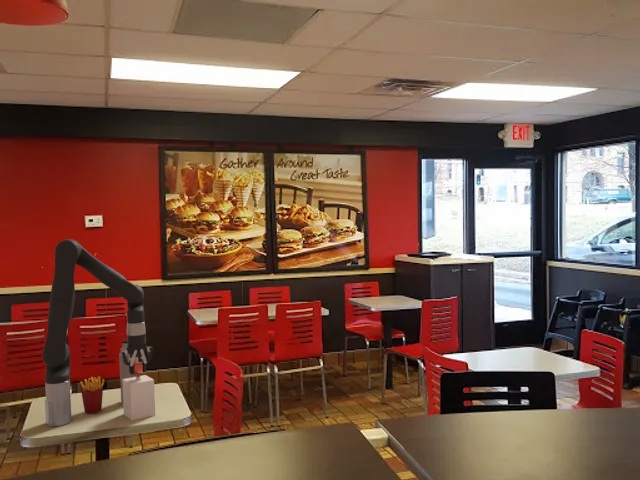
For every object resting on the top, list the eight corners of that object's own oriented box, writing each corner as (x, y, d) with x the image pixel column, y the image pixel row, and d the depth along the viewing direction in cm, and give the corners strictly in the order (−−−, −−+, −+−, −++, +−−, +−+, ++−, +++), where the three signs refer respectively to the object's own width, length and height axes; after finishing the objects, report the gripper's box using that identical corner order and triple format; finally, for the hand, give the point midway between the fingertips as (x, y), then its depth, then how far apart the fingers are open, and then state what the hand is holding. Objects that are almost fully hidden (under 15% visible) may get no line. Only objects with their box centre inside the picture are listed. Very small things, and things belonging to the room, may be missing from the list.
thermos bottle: (143, 400, 272) (141, 339, 270) (128, 405, 265) (125, 342, 264) (132, 397, 277) (130, 337, 275) (117, 402, 270) (115, 340, 269)
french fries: (95, 414, 254) (94, 379, 254) (78, 414, 256) (76, 379, 255) (107, 408, 263) (105, 374, 262) (90, 407, 265) (88, 373, 264)
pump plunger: (135, 412, 250) (134, 365, 249) (132, 410, 254) (130, 363, 253) (146, 410, 253) (144, 363, 252) (142, 407, 256) (140, 361, 255)
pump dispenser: (131, 420, 246) (130, 384, 245) (123, 414, 254) (122, 379, 253) (155, 415, 252) (154, 379, 251) (146, 409, 260) (145, 374, 259)
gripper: (122, 336, 244) (123, 378, 245) (156, 331, 253) (157, 372, 253) (116, 334, 250) (118, 374, 251) (149, 329, 259) (151, 368, 260)
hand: (137, 373), depth 252 cm, fingers closed on pump plunger, 4 cm apart
